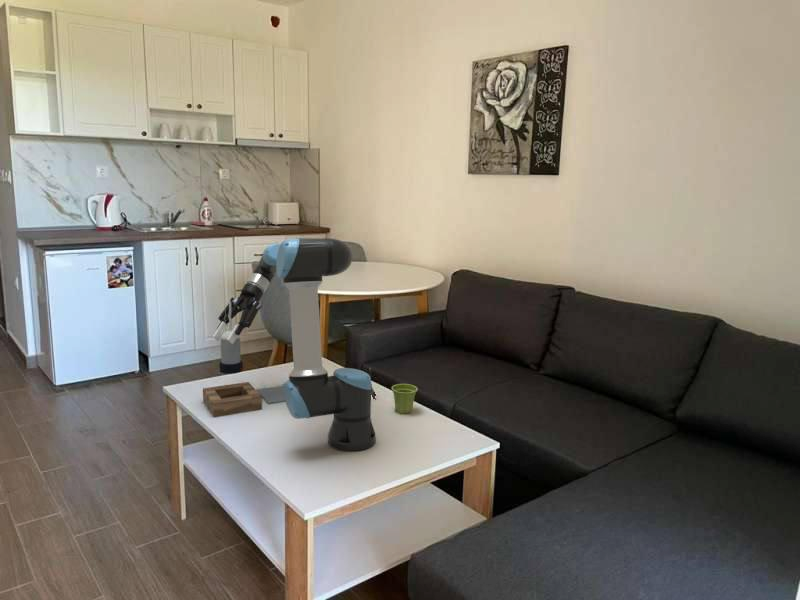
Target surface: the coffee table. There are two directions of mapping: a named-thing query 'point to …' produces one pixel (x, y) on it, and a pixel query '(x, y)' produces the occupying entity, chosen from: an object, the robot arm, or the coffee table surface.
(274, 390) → the mat
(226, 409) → the dock
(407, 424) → the coffee table surface
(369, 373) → the eiffel tower figurine
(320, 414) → the robot arm
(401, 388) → the plant pot
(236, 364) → the humidifier
